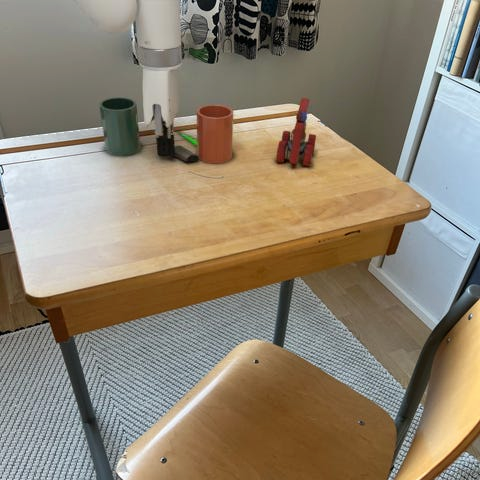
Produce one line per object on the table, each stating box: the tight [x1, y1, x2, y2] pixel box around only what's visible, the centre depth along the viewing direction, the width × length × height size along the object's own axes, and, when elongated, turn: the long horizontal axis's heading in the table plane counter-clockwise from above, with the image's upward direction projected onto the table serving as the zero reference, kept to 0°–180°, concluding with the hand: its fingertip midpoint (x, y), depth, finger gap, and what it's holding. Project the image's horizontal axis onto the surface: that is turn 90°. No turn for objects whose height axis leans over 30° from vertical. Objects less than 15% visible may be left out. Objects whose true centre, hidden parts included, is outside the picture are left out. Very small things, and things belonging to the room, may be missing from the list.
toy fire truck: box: [276, 97, 317, 167], centre depth 102 cm, size 7×12×10 cm, turn 168°
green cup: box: [98, 96, 141, 157], centre depth 102 cm, size 7×7×9 cm
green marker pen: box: [178, 132, 197, 147], centre depth 108 cm, size 1×14×1 cm, turn 36°
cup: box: [196, 104, 235, 164], centre depth 102 cm, size 7×7×9 cm
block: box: [173, 145, 200, 163], centre depth 103 cm, size 4×6×2 cm, turn 40°
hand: (166, 154), depth 102 cm, fingers closed
